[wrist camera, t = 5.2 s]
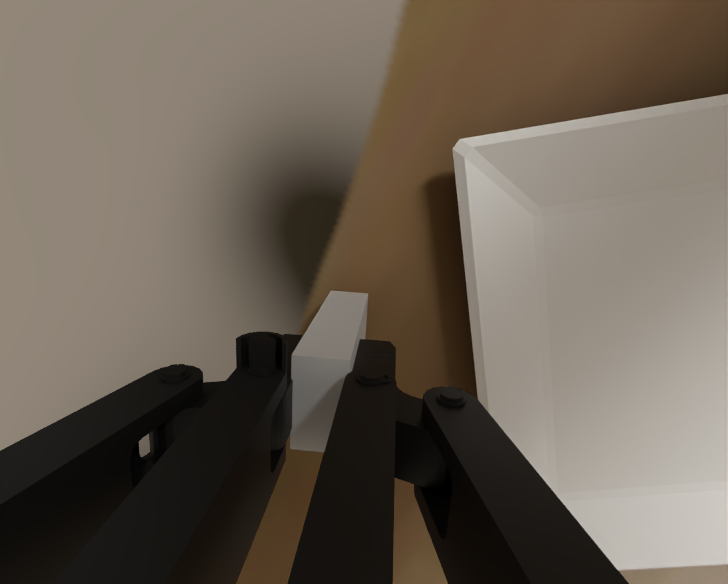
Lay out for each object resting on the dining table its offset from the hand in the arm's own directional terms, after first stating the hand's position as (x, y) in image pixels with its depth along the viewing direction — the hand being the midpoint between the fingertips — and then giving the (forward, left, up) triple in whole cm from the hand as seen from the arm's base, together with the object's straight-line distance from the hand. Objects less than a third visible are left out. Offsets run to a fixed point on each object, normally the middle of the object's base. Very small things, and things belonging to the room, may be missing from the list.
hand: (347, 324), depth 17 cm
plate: (0, +14, -2) cm, 14 cm away
